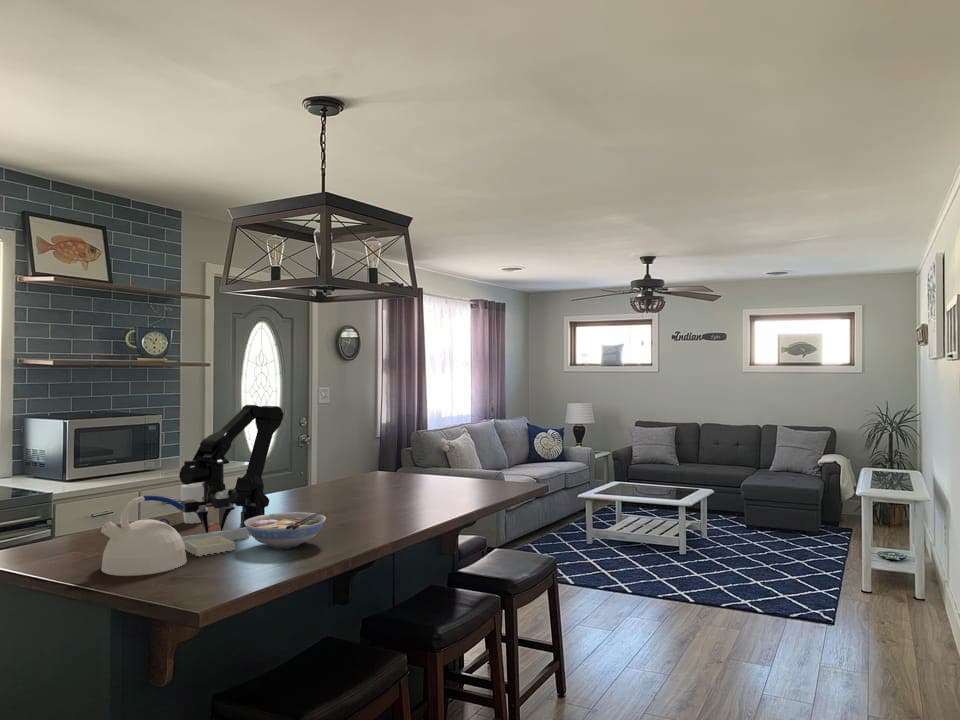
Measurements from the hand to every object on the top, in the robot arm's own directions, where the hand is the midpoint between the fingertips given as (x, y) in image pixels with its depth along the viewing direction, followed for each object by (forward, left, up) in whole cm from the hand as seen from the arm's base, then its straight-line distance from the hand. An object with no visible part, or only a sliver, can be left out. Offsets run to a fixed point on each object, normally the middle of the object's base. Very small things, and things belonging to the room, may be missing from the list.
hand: (213, 531), depth 228 cm
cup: (-3, -25, -1) cm, 25 cm away
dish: (+7, +17, -1) cm, 19 cm away
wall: (+3, +9, -1) cm, 10 cm away
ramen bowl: (-11, +26, -2) cm, 28 cm away
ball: (0, 0, +1) cm, 1 cm away
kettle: (+26, +22, -2) cm, 34 cm away
